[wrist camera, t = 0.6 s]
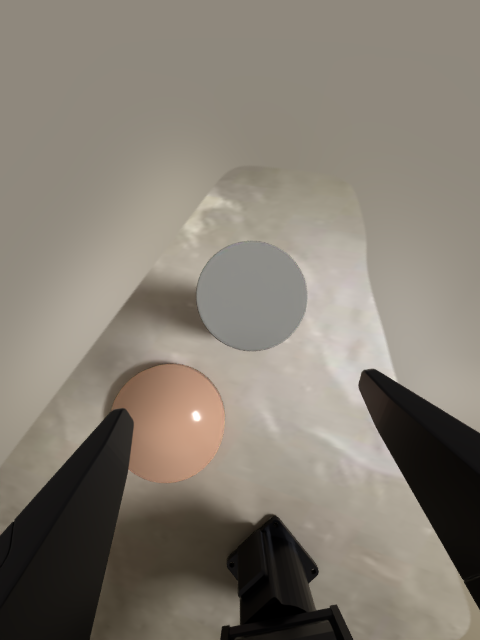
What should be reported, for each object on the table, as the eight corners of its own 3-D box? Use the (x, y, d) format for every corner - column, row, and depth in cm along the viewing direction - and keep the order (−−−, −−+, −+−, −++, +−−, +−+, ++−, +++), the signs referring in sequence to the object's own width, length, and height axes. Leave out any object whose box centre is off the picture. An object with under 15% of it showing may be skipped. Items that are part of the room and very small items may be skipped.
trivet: (247, 425, 23) (247, 430, 22) (161, 499, 23) (157, 508, 22) (178, 341, 24) (175, 341, 23) (93, 411, 23) (85, 415, 22)
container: (211, 316, 24) (168, 285, 9) (246, 288, 24) (260, 214, 9) (239, 351, 24) (242, 379, 9) (274, 323, 24) (335, 304, 9)
